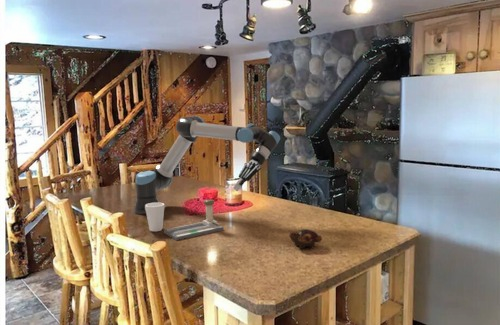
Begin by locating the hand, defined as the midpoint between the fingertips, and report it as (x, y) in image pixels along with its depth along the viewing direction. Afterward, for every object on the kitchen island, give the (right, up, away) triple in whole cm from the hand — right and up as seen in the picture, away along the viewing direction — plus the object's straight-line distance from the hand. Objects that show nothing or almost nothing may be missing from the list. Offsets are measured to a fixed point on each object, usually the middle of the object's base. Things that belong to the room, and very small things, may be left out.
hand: (235, 189), depth 215 cm
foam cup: (-40, -20, -7) cm, 46 cm away
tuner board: (-21, -20, -12) cm, 32 cm away
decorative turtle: (+32, -23, -36) cm, 53 cm away
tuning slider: (-11, -18, -9) cm, 23 cm away
